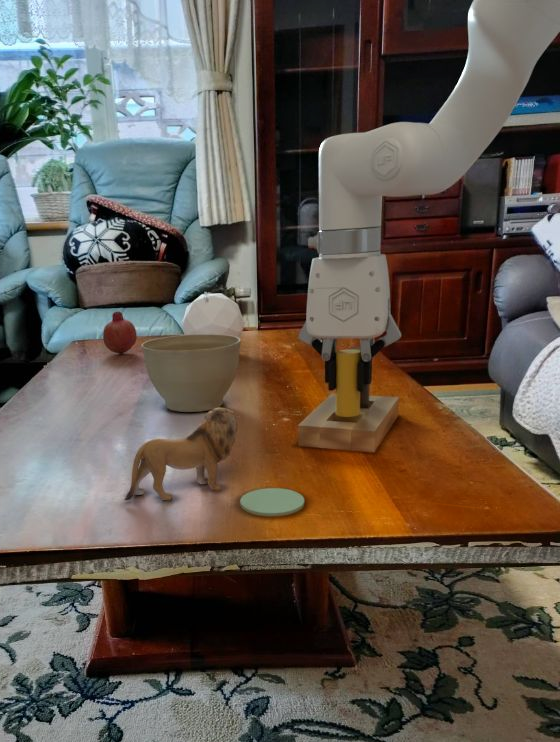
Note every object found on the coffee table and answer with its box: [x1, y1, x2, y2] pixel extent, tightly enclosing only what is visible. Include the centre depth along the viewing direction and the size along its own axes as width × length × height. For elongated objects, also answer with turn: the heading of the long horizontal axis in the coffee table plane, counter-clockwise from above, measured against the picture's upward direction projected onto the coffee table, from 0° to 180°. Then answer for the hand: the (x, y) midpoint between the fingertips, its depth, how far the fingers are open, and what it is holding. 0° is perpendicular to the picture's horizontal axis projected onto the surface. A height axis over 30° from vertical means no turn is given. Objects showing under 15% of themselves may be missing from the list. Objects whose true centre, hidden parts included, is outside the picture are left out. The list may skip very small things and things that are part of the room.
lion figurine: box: [123, 406, 238, 501], centre depth 78 cm, size 15×5×9 cm, turn 119°
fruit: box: [102, 310, 137, 355], centre depth 161 cm, size 8×8×10 cm
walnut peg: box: [348, 346, 371, 409], centre depth 98 cm, size 3×3×11 cm
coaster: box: [239, 487, 305, 517], centre depth 74 cm, size 7×7×1 cm
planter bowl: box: [140, 334, 242, 413], centre depth 113 cm, size 16×16×11 cm
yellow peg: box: [335, 348, 361, 417], centre depth 91 cm, size 3×3×8 cm
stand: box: [297, 393, 400, 453], centre depth 97 cm, size 10×17×3 cm, turn 155°
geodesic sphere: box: [181, 291, 245, 339], centre depth 153 cm, size 15×14×14 cm
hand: (348, 387), depth 91 cm, fingers closed on yellow peg, 3 cm apart
